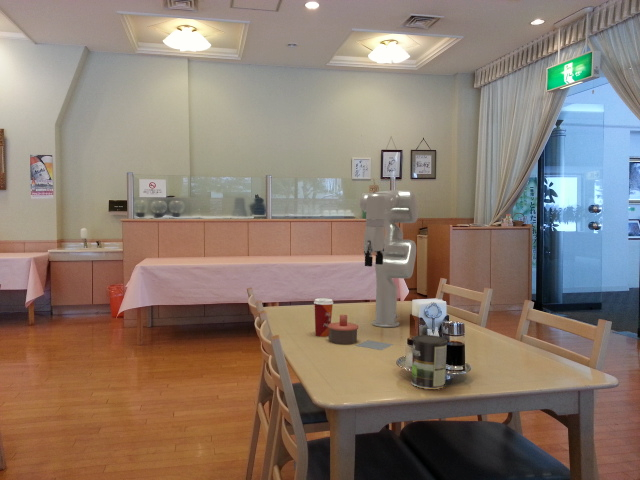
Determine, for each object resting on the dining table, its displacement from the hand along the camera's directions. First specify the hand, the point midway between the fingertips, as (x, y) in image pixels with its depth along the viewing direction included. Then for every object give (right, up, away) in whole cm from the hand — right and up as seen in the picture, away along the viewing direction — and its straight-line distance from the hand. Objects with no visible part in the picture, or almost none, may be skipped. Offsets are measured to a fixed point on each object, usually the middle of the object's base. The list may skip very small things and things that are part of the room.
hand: (373, 265), depth 224 cm
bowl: (-13, -30, -9) cm, 34 cm away
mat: (-1, -31, -15) cm, 34 cm away
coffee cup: (-21, -30, +3) cm, 36 cm away
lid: (-13, -24, -10) cm, 29 cm away
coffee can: (+11, -34, -60) cm, 69 cm away
